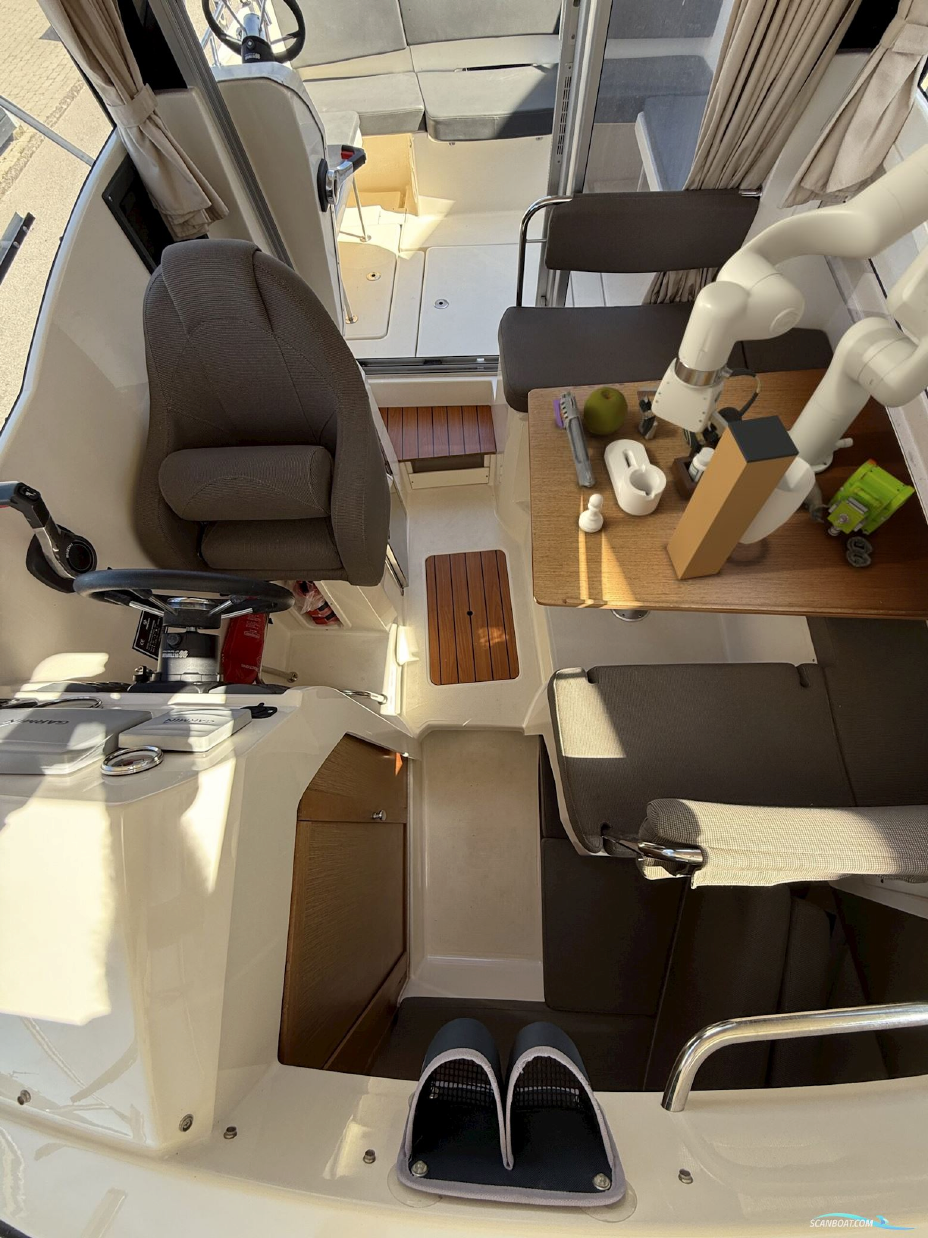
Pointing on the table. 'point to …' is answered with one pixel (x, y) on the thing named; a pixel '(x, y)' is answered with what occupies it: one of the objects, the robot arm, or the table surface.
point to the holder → (683, 476)
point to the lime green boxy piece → (866, 500)
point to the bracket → (634, 477)
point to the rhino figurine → (815, 503)
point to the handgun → (574, 436)
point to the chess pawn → (592, 515)
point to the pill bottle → (700, 464)
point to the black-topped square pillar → (730, 494)
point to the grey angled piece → (652, 431)
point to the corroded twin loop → (858, 551)
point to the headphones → (727, 409)
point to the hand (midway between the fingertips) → (669, 442)
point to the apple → (605, 410)
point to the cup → (782, 501)
